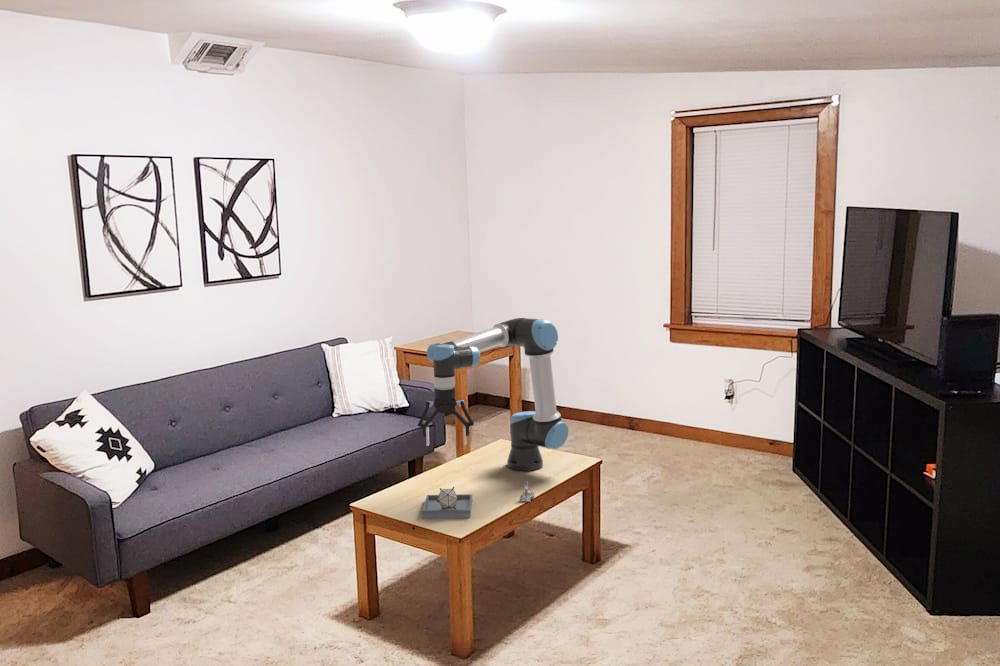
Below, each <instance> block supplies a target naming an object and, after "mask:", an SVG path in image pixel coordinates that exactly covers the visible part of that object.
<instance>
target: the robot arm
mask: <svg viewBox="0 0 1000 666" xmlns="http://www.w3.org/2000/svg"><path fill="white" fill-rule="evenodd" d="M558 341H559V333H558V330H557V328H556V326H555V324H554V323H552V322H551V321H550V320H545V319H541V318H540V319H539V318H527V317H526V318H525V317H517V318H513V319H508V320H506V321H502V322H499V323H495V324H494V325H493V327H492V328H489V329H486V330H482V331H479V332H476V333H471V334H470V335H466V336H464V337H460V338H456V339H454V340H453V339H452V340H449V341H447V342H443V343H440V342H436V343H431V344H430V345H428V348H427V349H426V357H427V360H428V361H429V362H431V363H433V385H434V401H430V400H429V399H428V400H427V401H426V402H425V409H424V410H423V413H422V415H421V417H420V419H419V421H418V423H417V427H419V428H422V435H423V437H424V438H425V437H426V447H429V446H430V427H429V426H428V425H429V424H430V423H431V422H432V421H433V420H434V418H435V417H436V416H437V415H438V414H439V413H440V414H451V413H452V414H453V415H454V416H455V417H456V418H457V419H458V420H459V421H460V423H461V424H463V445H464V446H467V437H469V436H470V427H471V426H472V427H473V426H474V422H475V421H474V420H473V418H472V415H471V414H470V412H469V410H468V409H467V407H466V405H465V404H466V403H465V400H464V399H461V400H457V399H456V388H455V386H456V374H455V373H456V370H460V369H465V368H472V367H475V366H477V365H478V364H479V363H480V361H481V352H484V351H488V350H489V349H493V348H496V347H500V348H505V347H507V346H515V347H516V346H517V347H523V349H524V355H525V356H526V357H528V360H529V367H530V375H531V383H532V394H533V400H534V409H535V411H533V410H528V411H521V412H516V413H513V414H512V415H511V416H510V423H509V425H510V426H509V427H510V451H509V453H508V458H507V461H506V462H507V463H506V464H507V466H506V467H507V468H509V469H511V470H514V471H534V470H538V469H541V468H543V466H544V463H543V462H544V461H543V457H542V454H541V452H540V447H542V448H546V449H550V450H552V449H553V450H558V449H560V448H561V447H563V446H564V444H565V443H566V441H567V439H568V437H569V426H568V424H566V422H564V421H562V416H561V413H560V412H559V411H558V409H557V405H556V404H557V401H556V395H555V386H554V385H555V384H554V376H553V369H552V367H553V366H552V359H551V358H552V357H551V355H552V354H553V353H554V349H555V347H557V344H558V343H557V342H558ZM457 405H458V407H459V408H460V407H461V410H462V412H463V414H464V416H465V417H466V419H467V420H466V419H465V417H464V416H463V415H462V414H461V413H460V412H459V411H458V409H457V408H456V407H457ZM432 406H434V408H435V409H434V411H433V412H432V413H431V415H429V417H428V419H426V421H425V418H426V416H427V414H428V411H429V409H430V408H431V407H432ZM424 421H425V422H424ZM423 422H424V423H423Z"/></svg>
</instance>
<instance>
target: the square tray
mask: <svg viewBox="0 0 1000 666" xmlns="http://www.w3.org/2000/svg"><path fill="white" fill-rule="evenodd" d="M456 495H457V496H459V497H458V498H459V499H460V500H458V501H457V503H456V506H455V508H456V510H455V509H454V508H450V509H443V510H442V507H441V505H440V504H439V502H437V501H438V499H436V498H438V496H439V494H426V497H425V500H424V504H423V506H422V509H421V515H422V516H421V518H422V519H471V517H472V515H471V514H472V510H473V509H472V507H473V499H474V498H473V494H471V493H470V494H456Z"/></svg>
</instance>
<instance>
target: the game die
mask: <svg viewBox="0 0 1000 666" xmlns="http://www.w3.org/2000/svg"><path fill="white" fill-rule="evenodd" d="M454 489H455V486H453V487H452V488H446V489H445V488H444V489H443V488H439V490H440V491H439V493H438V495H439V496H438V498H436V499H438V501H437V502H439V504H440V505H441V507H442V510H443V509H450V508H454V509H455V510H456V508H455V506H456V503H457V501H458V500H460V499H459V498H458V497H459V496H457V495H458V494H457V493H456V490H454Z"/></svg>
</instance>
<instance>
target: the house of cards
mask: <svg viewBox="0 0 1000 666" xmlns="http://www.w3.org/2000/svg"><path fill="white" fill-rule="evenodd" d="M523 485H524V490H523V492H522V494H521V495H520V503H531V500H532V501H533V500H534V501H535V496H536V495H535V492H531V491H530V490H529V481H528V480H527V481H526V480H525V481H524V483H523Z"/></svg>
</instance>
